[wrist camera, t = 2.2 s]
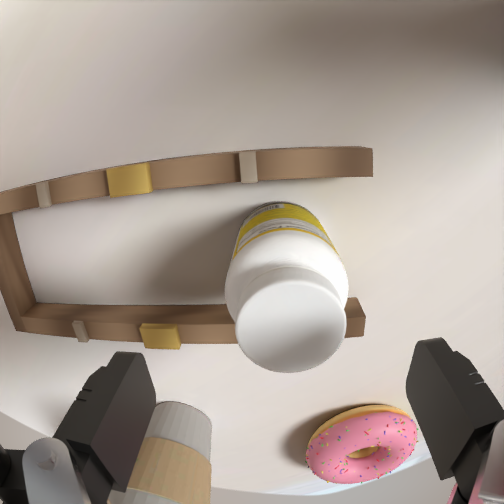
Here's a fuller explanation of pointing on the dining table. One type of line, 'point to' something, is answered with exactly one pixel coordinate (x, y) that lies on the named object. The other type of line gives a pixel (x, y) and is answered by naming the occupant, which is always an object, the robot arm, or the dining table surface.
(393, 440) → the doughnut
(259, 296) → the supplement bottle
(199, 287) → the dining table surface
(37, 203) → the wooden u-shaped frame
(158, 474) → the coffee cup
